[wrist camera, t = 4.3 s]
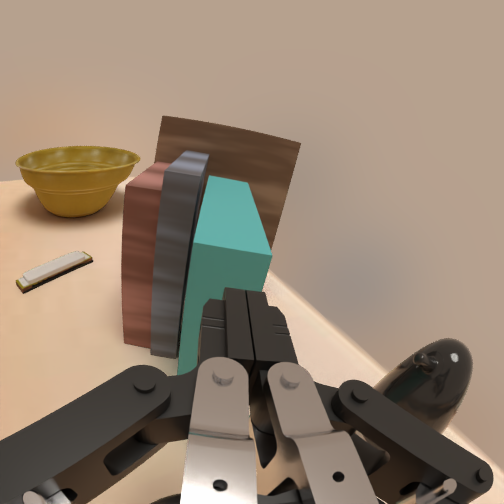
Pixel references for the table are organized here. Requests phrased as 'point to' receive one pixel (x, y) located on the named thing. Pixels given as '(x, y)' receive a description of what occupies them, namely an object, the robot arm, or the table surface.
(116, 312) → the table surface
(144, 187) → the book rack
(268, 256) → the teal book
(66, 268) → the harmonica
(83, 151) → the planter bowl
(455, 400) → the black rounded cone
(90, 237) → the table surface
